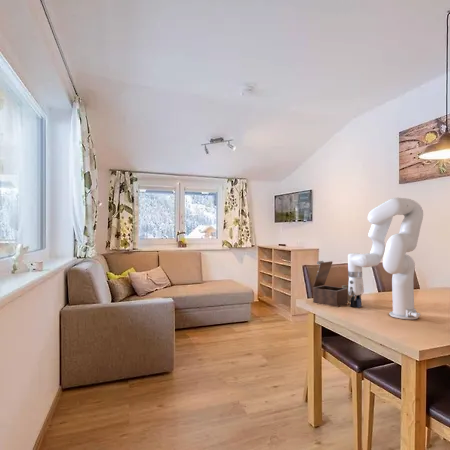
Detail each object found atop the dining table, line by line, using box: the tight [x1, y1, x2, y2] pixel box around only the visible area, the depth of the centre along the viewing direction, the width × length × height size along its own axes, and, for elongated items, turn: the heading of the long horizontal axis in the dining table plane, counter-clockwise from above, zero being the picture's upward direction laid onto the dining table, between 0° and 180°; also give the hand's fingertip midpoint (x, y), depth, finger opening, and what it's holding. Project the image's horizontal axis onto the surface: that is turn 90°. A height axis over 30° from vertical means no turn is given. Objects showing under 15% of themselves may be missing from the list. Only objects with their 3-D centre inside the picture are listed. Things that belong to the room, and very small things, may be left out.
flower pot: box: [341, 284, 355, 302], centre depth 192 cm, size 9×9×9 cm
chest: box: [312, 284, 349, 307], centre depth 185 cm, size 16×13×9 cm
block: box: [349, 298, 363, 309], centre depth 175 cm, size 4×4×4 cm
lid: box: [312, 260, 334, 288], centre depth 191 cm, size 17×13×5 cm
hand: (355, 305), depth 175 cm, fingers closed on block, 4 cm apart
